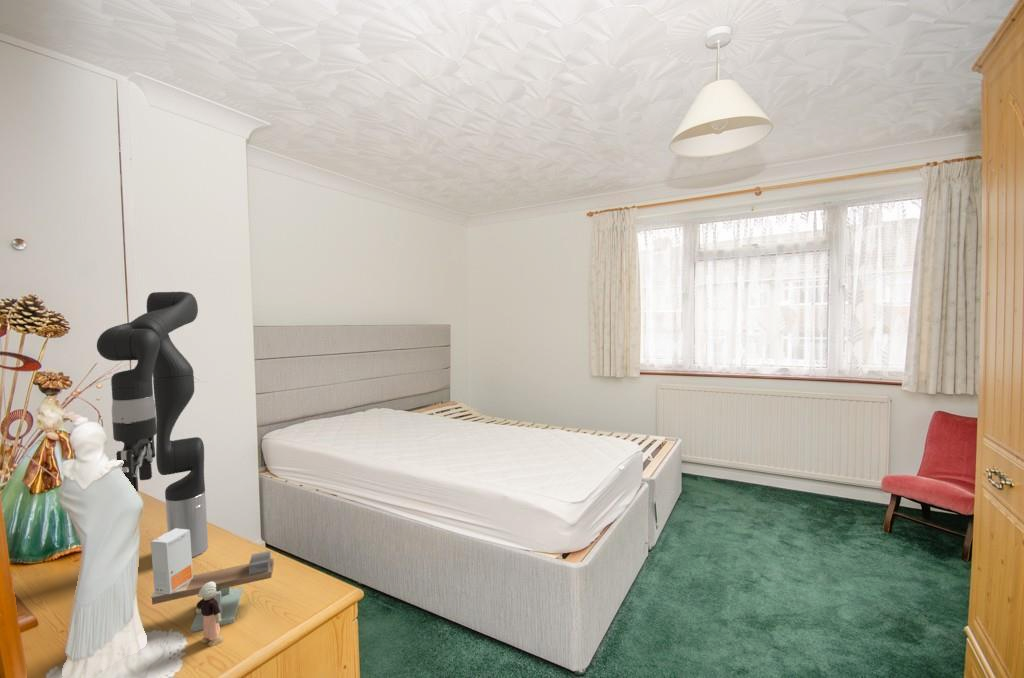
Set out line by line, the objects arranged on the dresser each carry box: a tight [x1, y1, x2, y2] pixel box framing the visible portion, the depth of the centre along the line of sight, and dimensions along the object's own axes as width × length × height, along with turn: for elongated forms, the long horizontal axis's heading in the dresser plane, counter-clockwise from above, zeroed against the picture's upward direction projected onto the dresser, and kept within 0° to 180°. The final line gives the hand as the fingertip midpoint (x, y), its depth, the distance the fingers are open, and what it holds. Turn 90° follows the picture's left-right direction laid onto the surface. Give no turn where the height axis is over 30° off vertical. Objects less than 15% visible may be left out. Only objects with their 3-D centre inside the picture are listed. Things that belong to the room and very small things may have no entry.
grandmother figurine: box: [195, 582, 225, 647], centre depth 95 cm, size 8×4×13 cm, turn 77°
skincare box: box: [150, 528, 194, 594], centre depth 101 cm, size 6×4×12 cm
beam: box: [150, 550, 275, 606], centre depth 104 cm, size 7×23×5 cm, turn 112°
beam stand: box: [190, 586, 244, 633], centre depth 105 cm, size 12×8×7 cm, turn 22°
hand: (138, 486), depth 102 cm, fingers open, 8 cm apart
